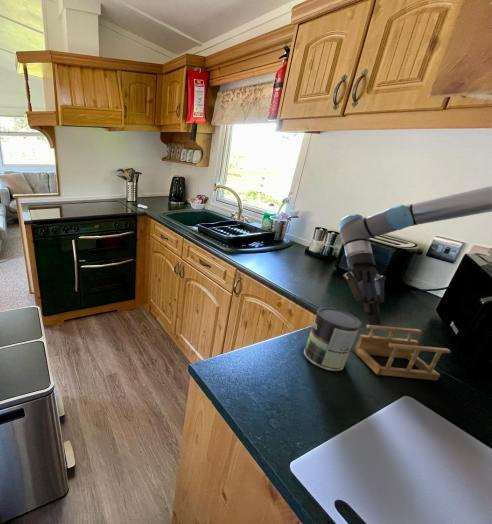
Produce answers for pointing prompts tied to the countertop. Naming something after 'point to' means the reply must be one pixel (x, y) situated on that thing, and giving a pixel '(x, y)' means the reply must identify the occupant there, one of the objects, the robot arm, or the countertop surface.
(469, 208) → the robot arm
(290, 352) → the countertop surface
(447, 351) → the rack
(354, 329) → the coffee can
